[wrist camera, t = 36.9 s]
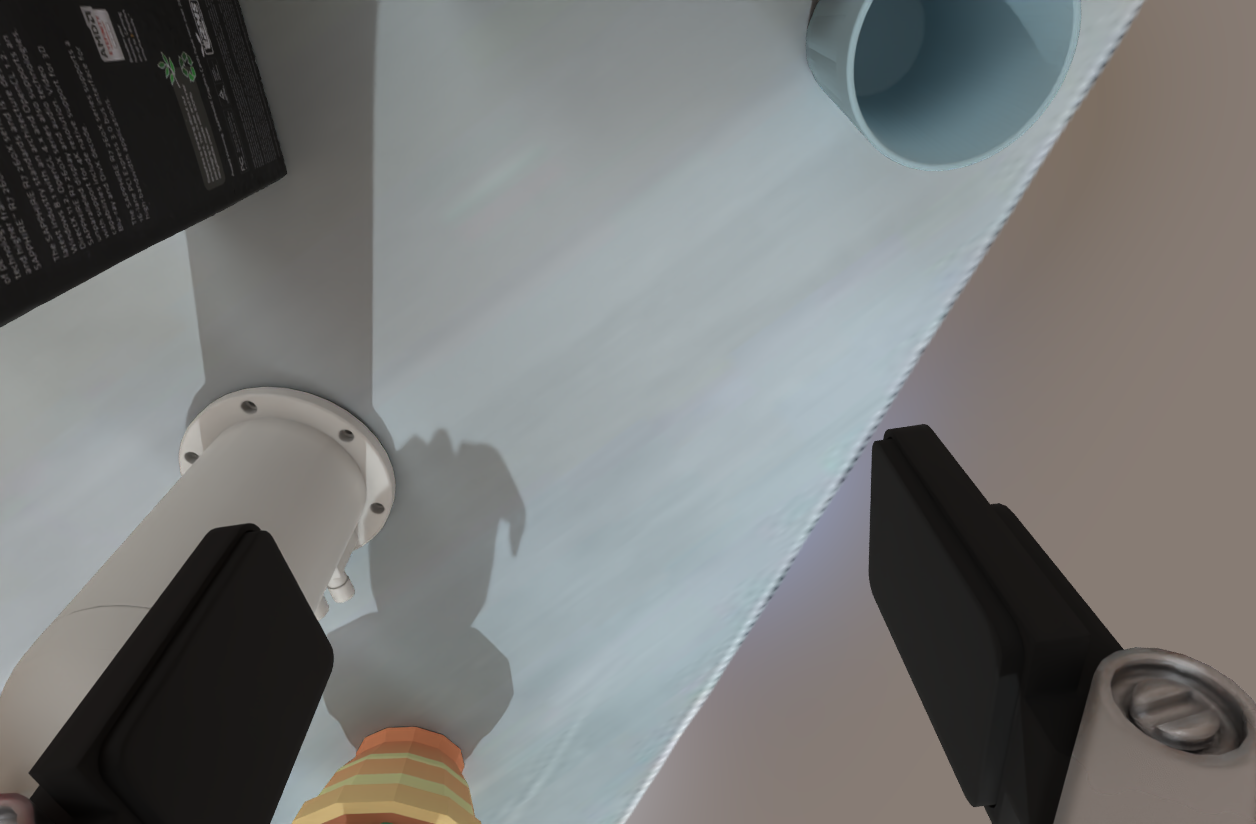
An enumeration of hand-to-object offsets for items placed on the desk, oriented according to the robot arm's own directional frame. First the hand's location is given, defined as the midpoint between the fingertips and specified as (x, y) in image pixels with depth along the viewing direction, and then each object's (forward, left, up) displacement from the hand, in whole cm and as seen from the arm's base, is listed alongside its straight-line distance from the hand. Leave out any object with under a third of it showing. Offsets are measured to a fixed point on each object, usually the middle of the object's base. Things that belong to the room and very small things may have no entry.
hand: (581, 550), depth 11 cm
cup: (+4, -13, -28) cm, 31 cm away
